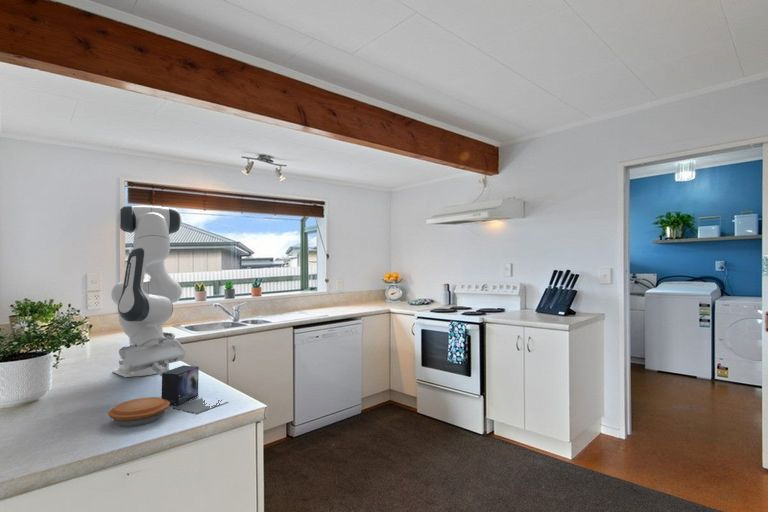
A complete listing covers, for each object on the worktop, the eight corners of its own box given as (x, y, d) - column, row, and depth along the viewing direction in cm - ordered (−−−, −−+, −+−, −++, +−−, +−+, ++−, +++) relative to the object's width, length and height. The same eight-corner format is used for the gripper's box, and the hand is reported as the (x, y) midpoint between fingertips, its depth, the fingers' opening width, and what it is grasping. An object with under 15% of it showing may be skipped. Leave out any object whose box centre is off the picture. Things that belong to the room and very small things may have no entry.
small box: (178, 407, 128) (178, 373, 129) (160, 406, 130) (160, 372, 130) (199, 396, 139) (199, 365, 139) (182, 395, 140) (182, 364, 140)
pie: (100, 421, 117) (100, 403, 118) (158, 407, 129) (158, 391, 129) (117, 435, 107) (117, 416, 107) (178, 418, 119) (178, 401, 119)
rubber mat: (172, 408, 127) (172, 407, 127) (205, 397, 138) (205, 396, 138) (196, 414, 122) (196, 413, 122) (228, 402, 133) (228, 401, 133)
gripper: (120, 342, 133) (139, 375, 128) (177, 332, 151) (195, 361, 146) (112, 354, 134) (130, 388, 130) (169, 343, 153) (187, 372, 148)
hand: (165, 374), depth 138 cm, fingers closed
